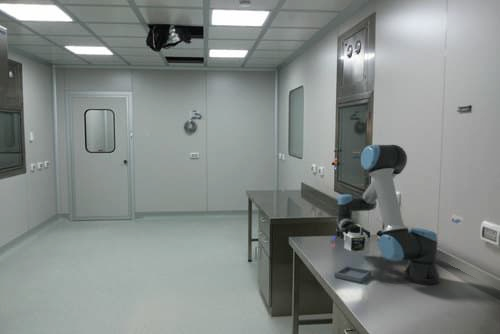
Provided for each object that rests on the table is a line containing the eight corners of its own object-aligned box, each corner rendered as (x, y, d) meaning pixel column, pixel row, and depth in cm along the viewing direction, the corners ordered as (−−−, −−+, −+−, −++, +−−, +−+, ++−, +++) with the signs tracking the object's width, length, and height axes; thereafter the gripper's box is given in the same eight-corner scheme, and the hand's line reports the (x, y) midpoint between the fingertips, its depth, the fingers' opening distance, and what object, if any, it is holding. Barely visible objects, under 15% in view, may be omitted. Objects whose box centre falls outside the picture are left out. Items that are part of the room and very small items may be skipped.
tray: (371, 276, 192) (371, 270, 192) (360, 283, 182) (360, 278, 182) (346, 270, 200) (346, 265, 200) (334, 277, 190) (334, 272, 190)
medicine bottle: (351, 252, 192) (351, 227, 191) (343, 248, 199) (344, 223, 198) (364, 251, 194) (365, 226, 193) (357, 247, 201) (357, 222, 200)
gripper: (368, 234, 213) (379, 246, 191) (326, 234, 215) (333, 245, 192) (368, 220, 213) (380, 230, 190) (327, 219, 214) (333, 230, 192)
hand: (356, 238), depth 191 cm, fingers closed on medicine bottle, 9 cm apart
